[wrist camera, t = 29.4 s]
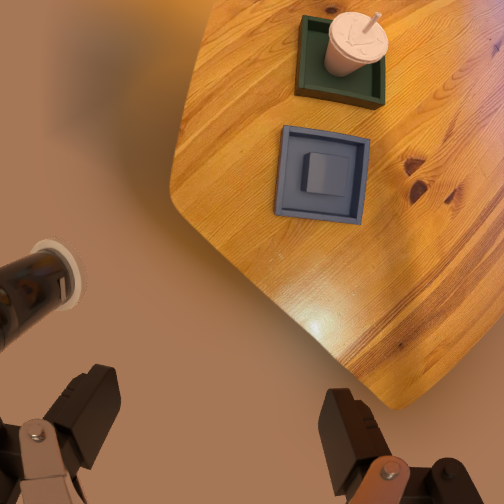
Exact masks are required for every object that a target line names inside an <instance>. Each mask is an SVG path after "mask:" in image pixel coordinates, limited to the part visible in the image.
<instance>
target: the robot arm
mask: <svg viewBox="0 0 504 504" xmlns="http://www.w3.org/2000/svg"><path fill="white" fill-rule="evenodd" d="M74 287H75V281H74V275H73V271H72V268H71V266H70V264H69V262H68V261H67V259H66V258H65V257H64V256H63V255H62V254H61V253H60V252H59V251H57V250H56V249H53V248H43V249H41V250H38V251H37V252H35V253H33V254H30V255H28V256H25V257H23V258H21V259H18V260H16V261H14V262H12V263H9V264H7V265H5V266H3V267H1V268H0V353H1V352H2V351H3V350H5V349H6V348H7V347H8V346H9V345H11V344H12V343H13V342H14V341H16V340H17V339H18V338H19V337H21V336H22V335H23V334H24V333H26V332H27V331H28V330H29V329H31V328H32V327H33V326H34V325H36V324H37V323H38V322H40V321H41V320H42V319H43V318H45V317H46V316H47V315H49V314H50V313H51V312H53V311H54V310H55V309H57V308H58V307H59V306H61V305H63V304H64V303H66V302H67V301H68V300H69V299H70V298H71V297H72V295H73V292H74ZM120 406H121V396H120V391H119V386H118V381H117V375H116V371H115V369H114V368H113V367H109V366H104V365H100V364H95V365H94V366H93V367H92V368H91V370H90V371H89V372H88V374H85V373H82V374H80V375H79V376H77V377H75V378H74V379H73V380H72V381H71V382H70V383H69V384H68V386H67V387H66V389H65V390H64V391H63V392H62V395H61V396H59V397H58V399H57V400H56V401H55V403H54V404H53V405H52V407H51V408H50V409H49V411H48V412H47V413H46V415H45V416H44V417H43V419H32V420H29V421H27V422H25V423H24V424H23V425H22V426H15V425H9V424H4V423H3V422H2V420H1V418H0V504H16V502H17V499H18V497H19V495H20V493H22V498H23V502H24V504H89V502H88V500H87V497H86V495H85V492H84V489H83V487H82V485H81V482H80V479H79V476H78V474H77V471H78V470H79V468H80V467H83V468H86V469H89V470H91V468H92V466H93V464H94V461H95V459H96V457H97V455H98V453H99V451H100V449H101V447H102V445H103V443H104V441H105V439H106V437H107V435H108V432H109V430H110V428H111V426H112V424H113V422H114V420H115V418H116V416H117V414H118V412H119V410H120ZM318 429H319V434H320V438H321V442H322V446H323V450H324V454H325V458H326V462H327V466H328V469H329V474H330V478H331V482H332V486H333V490H334V494H335V496H341V495H346V499H347V502H346V503H345V504H484V503H483V501H482V499H481V497H480V495H479V493H478V491H477V489H476V487H475V485H474V483H473V482H472V480H471V478H470V476H469V474H468V472H467V470H466V468H465V467H464V465H463V464H462V463H461V462H460V461H458V460H456V459H454V458H442V459H439V460H438V461H436V462H435V464H434V465H433V466H432V468H422V467H421V468H420V467H409V466H408V464H407V463H406V462H405V461H404V460H402V459H401V458H399V457H396V456H392V454H391V452H390V450H389V448H388V445H387V443H386V441H385V439H384V437H383V435H382V433H381V431H380V428H379V427H378V424H377V422H376V420H374V416H373V414H372V412H371V410H370V408H369V407H368V406H367V405H366V404H364V403H363V402H362V401H361V400H354V398H353V396H352V394H351V392H350V390H349V389H348V388H334V389H328V391H327V393H326V396H325V400H324V403H323V406H322V409H321V413H320V416H319V421H318Z"/></svg>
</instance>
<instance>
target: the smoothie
mask: <svg viewBox="0 0 504 504" xmlns="http://www.w3.org/2000/svg"><path fill="white" fill-rule="evenodd" d="M380 17H381V13H379V12H376V13H375V14H374V16H373V17H372V18H370V17H369V16H367V15H364V14H361V13H357V12H345V13H342V14H340V15H338V16H337V17H336V18H335V19H334V20H333V22H332V23H331V25H330V27H329V37H330V39H329V43H328V47H327V51H326V55H325V59H324V66H325V68H326V70H327V71H328V72H329V73H330V74H332V75H334V76H337V77H344V76H346V75H348V74H350V73H351V72H353V71H355V70H357V69H358V68H360V67H362V66H364V65H366V64H370V63H374V62H377V61H378V60H380V59H381V58H382V57H383V56H384V55H385V53H386V52H387V49H388V38H387V35H386V33H385V31H384V30H383V28H382V27H381V26H380V25H379V24H378V23H377V22H376V21H377V20H378V19H379V18H380Z"/></svg>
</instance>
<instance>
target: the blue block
mask: <svg viewBox="0 0 504 504" xmlns="http://www.w3.org/2000/svg"><path fill="white" fill-rule="evenodd" d="M348 167H349V157H343V156H337V155H330V154H324V153H317V152H309V153H307V154H305V155H304V158H303V168H302V178H301V188H300V190H301V191H304V192H309V193H317V194H325V195H332V196H340V197H345V195H346V186H347V177H348Z"/></svg>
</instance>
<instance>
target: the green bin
mask: <svg viewBox="0 0 504 504" xmlns="http://www.w3.org/2000/svg"><path fill="white" fill-rule="evenodd" d="M332 22H333V20H329V19H324V18H318V17H313V16H307V15H303V16H302V19H301V22H300V26H299V38H298V53H297V67H296V81H295V93H294V95H297V96H304V97H310V98H317V99H323V100H328V101H334V102H339V103H344V104H349V105H354V106H358V107H363V108H367V109H372V110H376V109H378V108H380V107H382V106H384V105H385V55H384V56H383V57H382V58H381V59H380V60H378V61H377V62H374V63H370V64H366V65H364V66H362V67H360V68H358V69H357V70H355V71H353V72H351V73H350V74H348V75H346V76H344V77H337V76H334V75H332V74H330V73H329V72H328V71H327V70H326V68H325V66H324V59H325V55H326V51H327V47H328V43H329V39H330V37H329V27H330V25H331V23H332Z"/></svg>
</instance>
